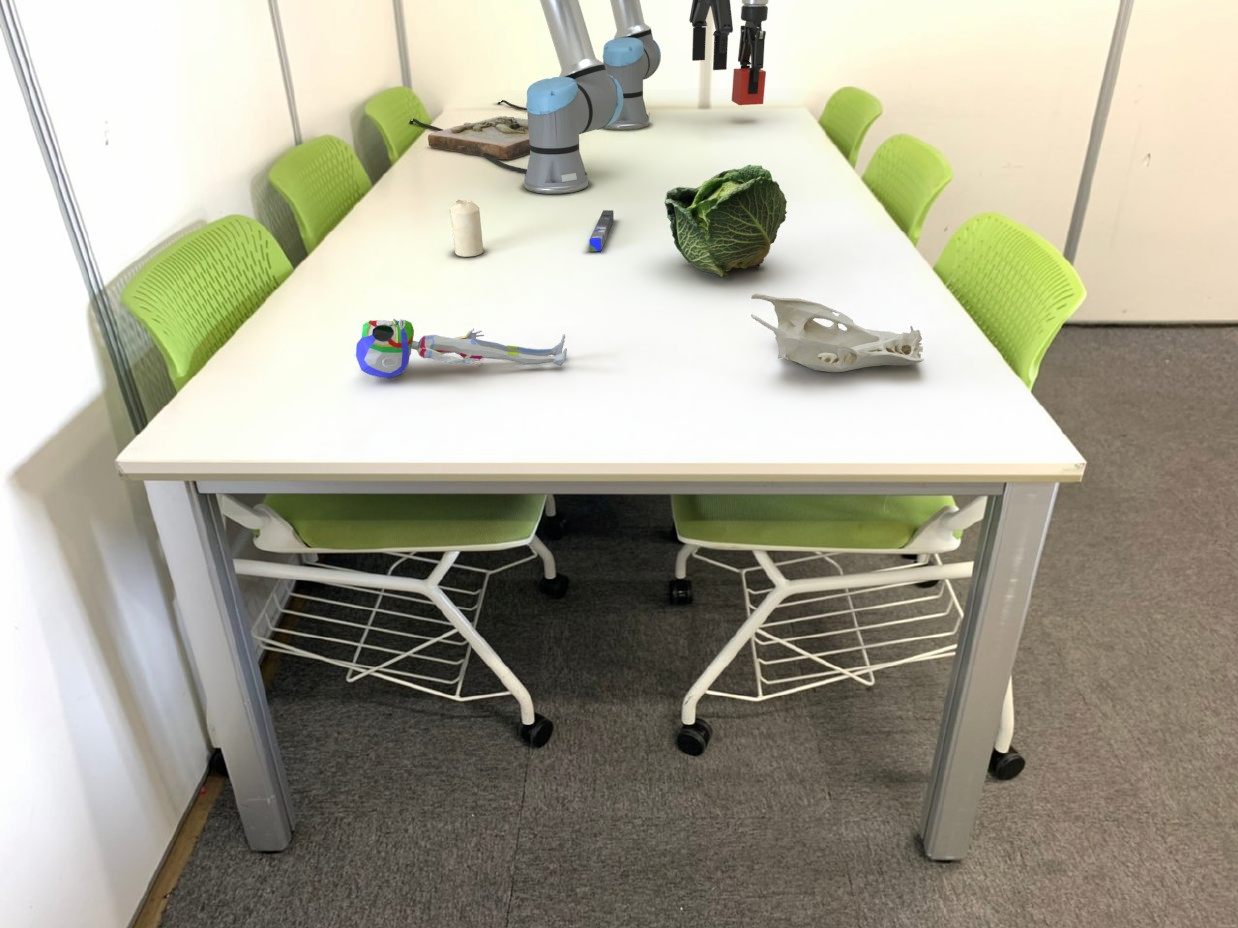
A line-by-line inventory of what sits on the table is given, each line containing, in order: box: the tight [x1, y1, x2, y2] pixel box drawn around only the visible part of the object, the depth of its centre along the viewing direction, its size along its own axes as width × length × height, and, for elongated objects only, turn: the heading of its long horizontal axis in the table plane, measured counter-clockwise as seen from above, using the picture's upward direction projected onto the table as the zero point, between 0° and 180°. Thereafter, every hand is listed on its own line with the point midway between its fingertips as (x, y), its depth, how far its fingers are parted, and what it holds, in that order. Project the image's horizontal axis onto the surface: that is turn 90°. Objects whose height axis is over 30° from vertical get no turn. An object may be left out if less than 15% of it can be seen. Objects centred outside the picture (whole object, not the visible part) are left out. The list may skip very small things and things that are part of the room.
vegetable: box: [664, 164, 788, 278], centre depth 161 cm, size 20×19×20 cm
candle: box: [449, 199, 484, 258], centre depth 172 cm, size 6×6×10 cm
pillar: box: [588, 209, 615, 252], centre depth 182 cm, size 2×2×20 cm
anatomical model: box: [750, 293, 925, 373], centre depth 129 cm, size 15×9×25 cm
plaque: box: [427, 115, 530, 161], centre depth 252 cm, size 30×7×30 cm
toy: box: [353, 318, 568, 379], centre depth 130 cm, size 10×8×30 cm
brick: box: [731, 67, 767, 106], centre depth 267 cm, size 8×7×9 cm
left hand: (708, 65), depth 192 cm, fingers open, 13 cm apart
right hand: (748, 91), depth 267 cm, fingers closed on brick, 7 cm apart
